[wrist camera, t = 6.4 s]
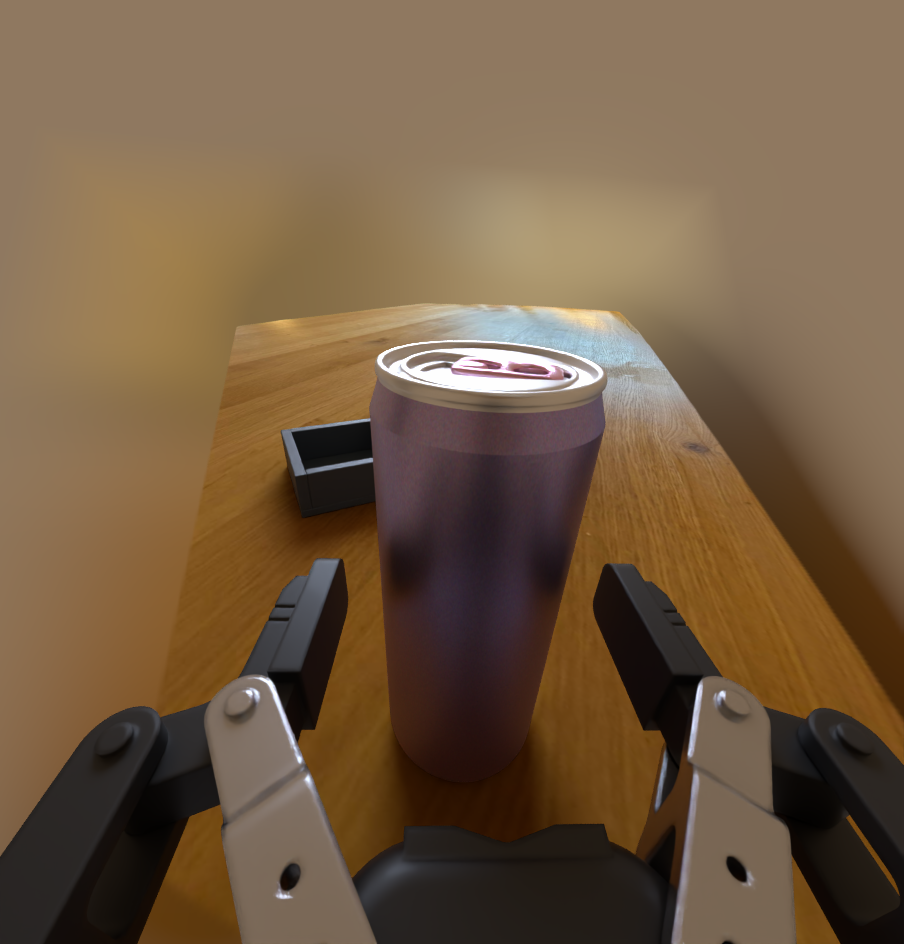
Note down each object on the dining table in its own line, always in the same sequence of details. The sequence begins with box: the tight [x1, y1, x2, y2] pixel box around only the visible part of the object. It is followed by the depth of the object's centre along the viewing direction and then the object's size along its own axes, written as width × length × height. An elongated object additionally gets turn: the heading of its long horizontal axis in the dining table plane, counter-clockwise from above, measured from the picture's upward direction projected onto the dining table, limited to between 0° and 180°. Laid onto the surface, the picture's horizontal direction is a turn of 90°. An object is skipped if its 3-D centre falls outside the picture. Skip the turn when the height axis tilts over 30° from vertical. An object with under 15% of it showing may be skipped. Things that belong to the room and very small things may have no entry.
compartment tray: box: [281, 418, 376, 518], centre depth 36 cm, size 26×9×4 cm, turn 118°
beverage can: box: [369, 341, 607, 782], centre depth 13 cm, size 6×6×15 cm
